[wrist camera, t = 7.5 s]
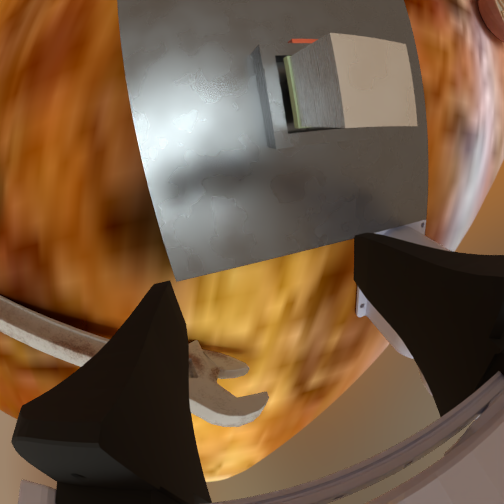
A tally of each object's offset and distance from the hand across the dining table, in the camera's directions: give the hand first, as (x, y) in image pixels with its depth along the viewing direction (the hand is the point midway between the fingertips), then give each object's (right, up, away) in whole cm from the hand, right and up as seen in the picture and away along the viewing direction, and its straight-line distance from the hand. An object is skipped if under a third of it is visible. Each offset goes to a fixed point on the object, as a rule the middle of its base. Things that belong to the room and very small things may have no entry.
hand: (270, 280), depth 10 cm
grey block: (+3, +10, +3) cm, 11 cm away
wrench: (-15, -5, +11) cm, 19 cm away
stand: (+3, +12, +7) cm, 14 cm away
